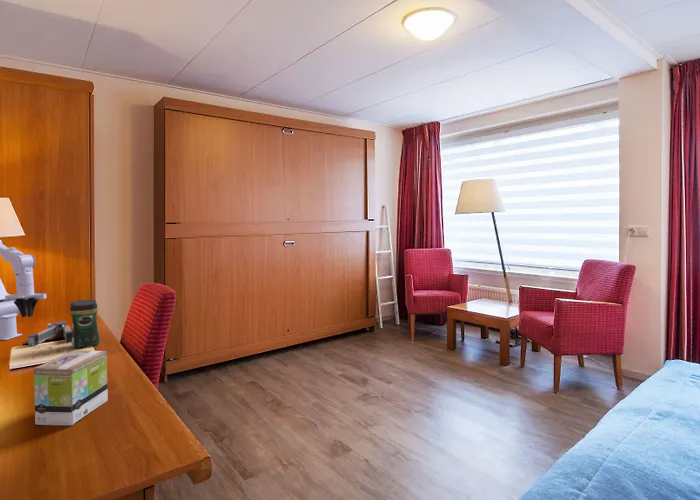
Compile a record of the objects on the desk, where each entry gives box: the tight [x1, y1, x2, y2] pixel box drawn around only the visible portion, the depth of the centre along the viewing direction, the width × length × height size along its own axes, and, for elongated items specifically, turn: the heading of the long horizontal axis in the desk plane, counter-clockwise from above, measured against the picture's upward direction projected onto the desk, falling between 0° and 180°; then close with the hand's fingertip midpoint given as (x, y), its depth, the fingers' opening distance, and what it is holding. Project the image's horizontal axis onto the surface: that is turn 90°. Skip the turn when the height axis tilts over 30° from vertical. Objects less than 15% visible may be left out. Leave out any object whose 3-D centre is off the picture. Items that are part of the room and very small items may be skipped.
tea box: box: [33, 350, 109, 426], centre depth 112 cm, size 15×10×15 cm
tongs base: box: [57, 323, 72, 343], centre depth 182 cm, size 20×4×4 cm, turn 38°
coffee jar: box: [69, 298, 101, 349], centre depth 170 cm, size 10×8×19 cm
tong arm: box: [27, 320, 68, 347], centre depth 180 cm, size 21×4×5 cm, turn 8°
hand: (27, 316), depth 176 cm, fingers closed
